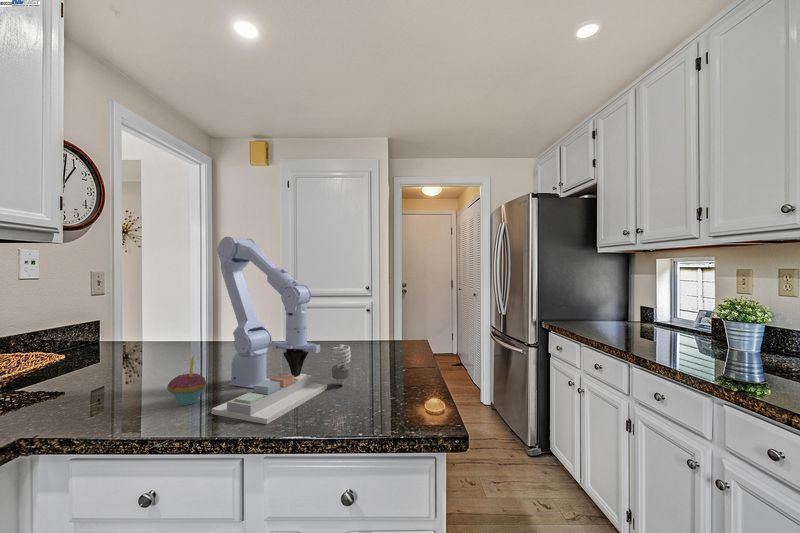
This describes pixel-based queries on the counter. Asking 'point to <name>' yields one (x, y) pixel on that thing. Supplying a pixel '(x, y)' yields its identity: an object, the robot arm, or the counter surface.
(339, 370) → the light bulb
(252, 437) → the counter surface
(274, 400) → the keypad
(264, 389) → the key slate
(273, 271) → the robot arm
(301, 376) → the key ivory
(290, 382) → the key terracotta
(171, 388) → the cupcake
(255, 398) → the key sage
